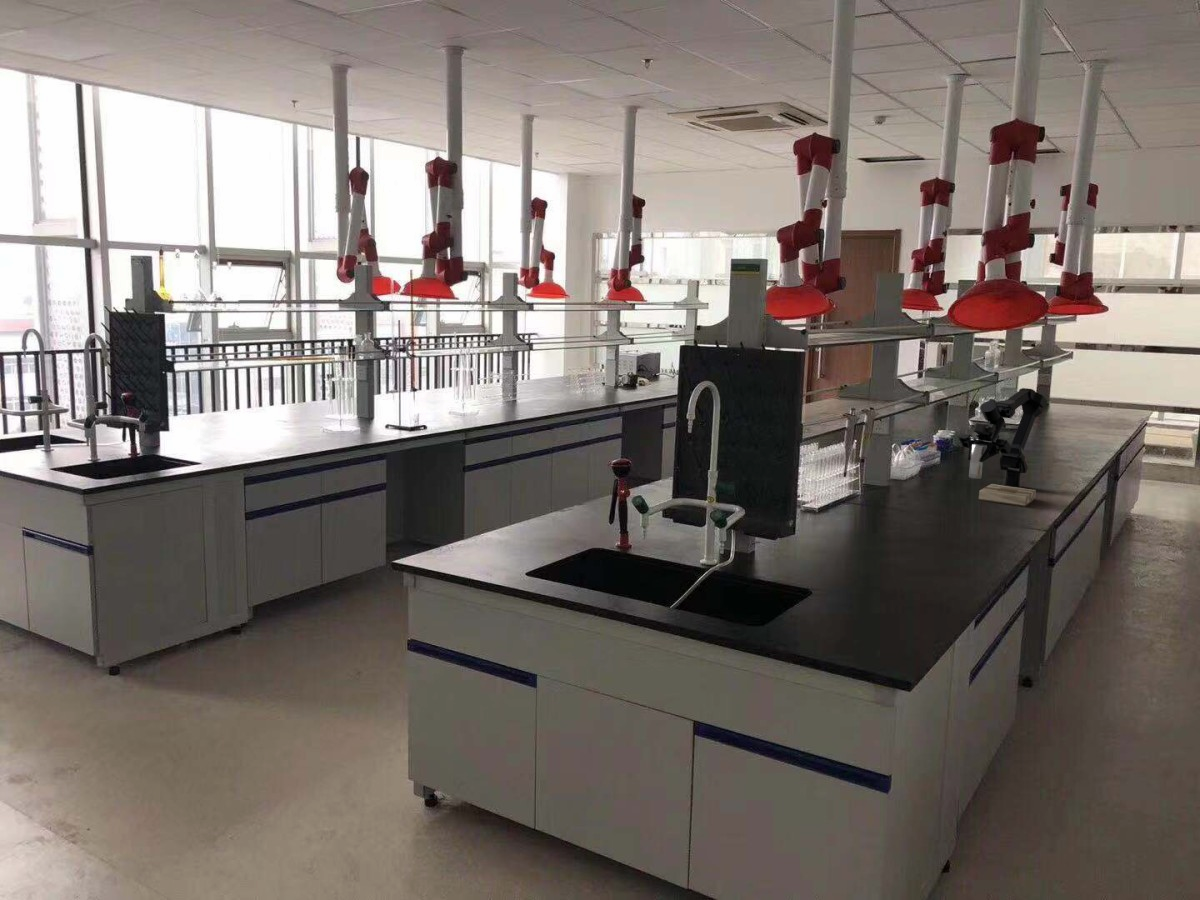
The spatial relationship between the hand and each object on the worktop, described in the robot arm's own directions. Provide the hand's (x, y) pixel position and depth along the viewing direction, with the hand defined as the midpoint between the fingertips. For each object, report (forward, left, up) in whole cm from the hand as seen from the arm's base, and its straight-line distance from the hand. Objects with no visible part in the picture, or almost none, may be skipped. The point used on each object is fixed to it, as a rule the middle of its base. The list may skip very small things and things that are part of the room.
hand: (974, 460), depth 348 cm
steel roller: (-1, 0, -7) cm, 7 cm away
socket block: (-2, +12, -13) cm, 18 cm away
